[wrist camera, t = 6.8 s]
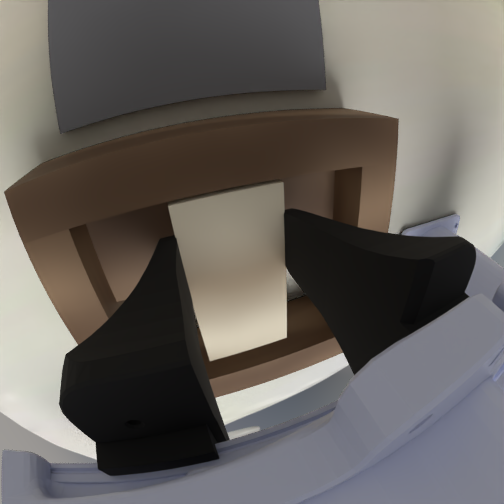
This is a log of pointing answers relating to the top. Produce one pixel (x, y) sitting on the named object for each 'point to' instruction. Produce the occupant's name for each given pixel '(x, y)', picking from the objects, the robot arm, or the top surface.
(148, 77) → the charcoal mat
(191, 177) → the walnut frame
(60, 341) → the top surface
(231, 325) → the birch tile
